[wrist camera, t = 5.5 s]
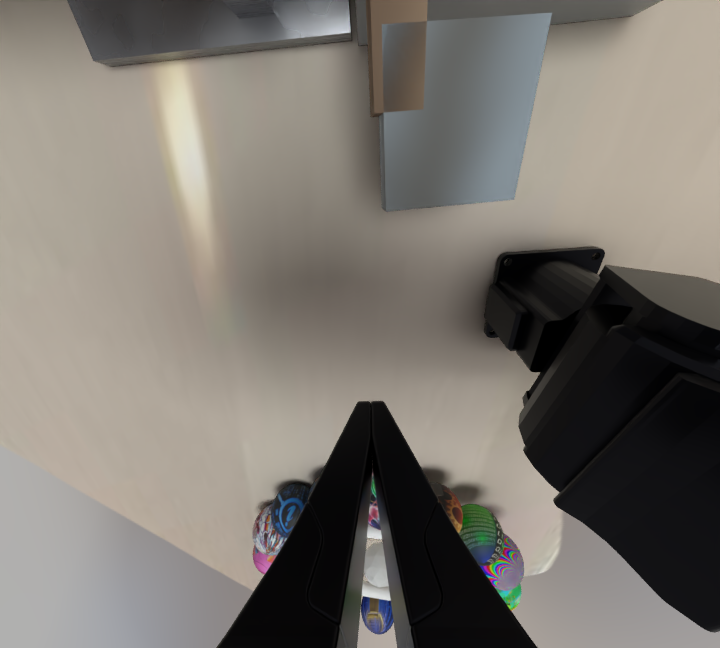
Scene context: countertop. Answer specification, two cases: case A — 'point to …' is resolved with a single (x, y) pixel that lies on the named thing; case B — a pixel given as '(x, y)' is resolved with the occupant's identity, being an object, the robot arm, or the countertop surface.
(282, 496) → the decorated egg ring holder
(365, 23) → the grey open tray
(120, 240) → the countertop surface
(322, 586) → the robot arm
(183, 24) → the lever stand
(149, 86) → the countertop surface
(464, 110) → the tipping lever
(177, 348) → the countertop surface
